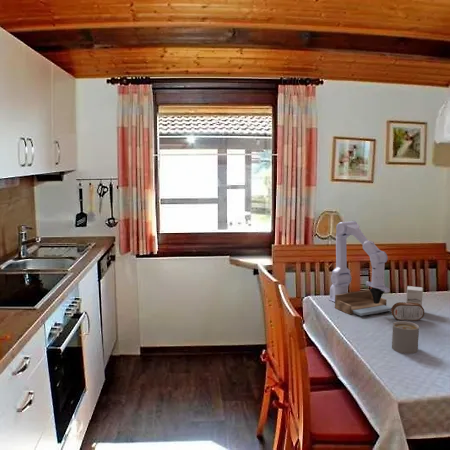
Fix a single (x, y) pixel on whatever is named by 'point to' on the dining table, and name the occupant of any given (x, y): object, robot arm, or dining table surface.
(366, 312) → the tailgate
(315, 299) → the dining table surface
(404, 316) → the tin
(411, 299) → the supplement box
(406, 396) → the dining table surface
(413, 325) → the coffee mug
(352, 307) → the wooden tray
